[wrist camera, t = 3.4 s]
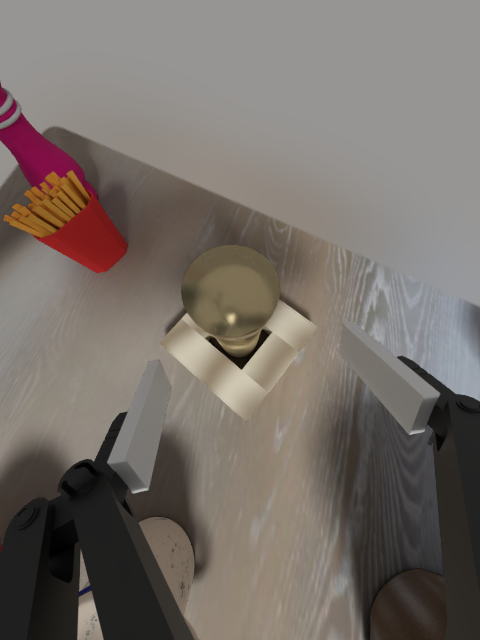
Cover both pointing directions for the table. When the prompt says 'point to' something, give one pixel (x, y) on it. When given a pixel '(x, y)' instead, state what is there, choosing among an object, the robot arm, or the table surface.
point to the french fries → (70, 223)
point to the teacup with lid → (173, 562)
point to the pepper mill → (34, 147)
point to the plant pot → (410, 608)
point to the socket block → (258, 374)
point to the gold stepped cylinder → (231, 296)
